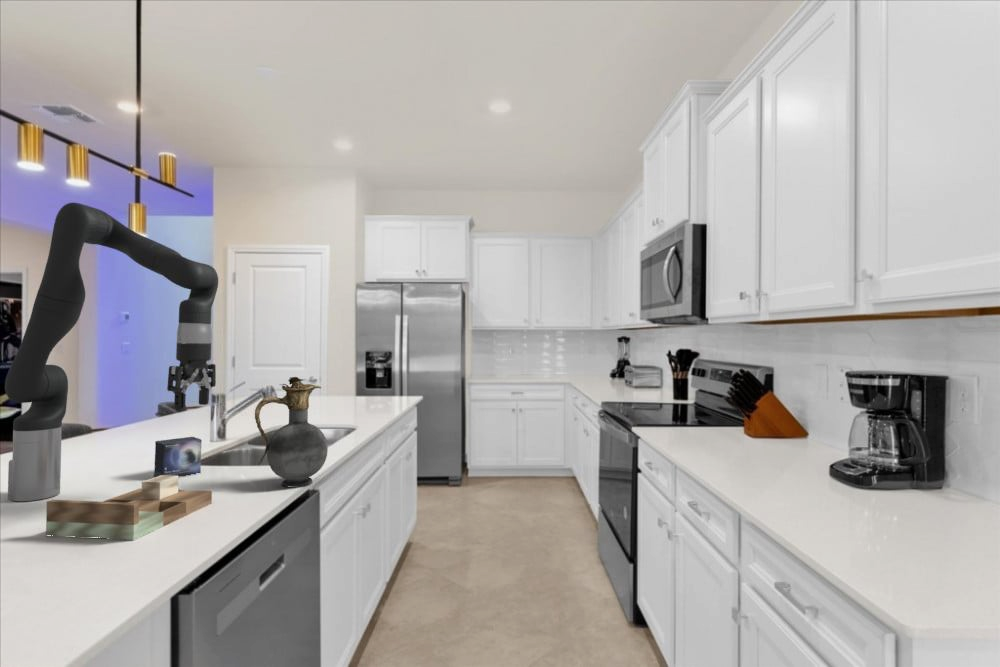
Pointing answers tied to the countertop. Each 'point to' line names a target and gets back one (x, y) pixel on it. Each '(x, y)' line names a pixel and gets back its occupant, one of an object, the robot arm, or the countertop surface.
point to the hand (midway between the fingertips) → (192, 406)
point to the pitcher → (294, 437)
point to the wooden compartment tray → (121, 514)
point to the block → (159, 487)
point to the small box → (178, 457)
